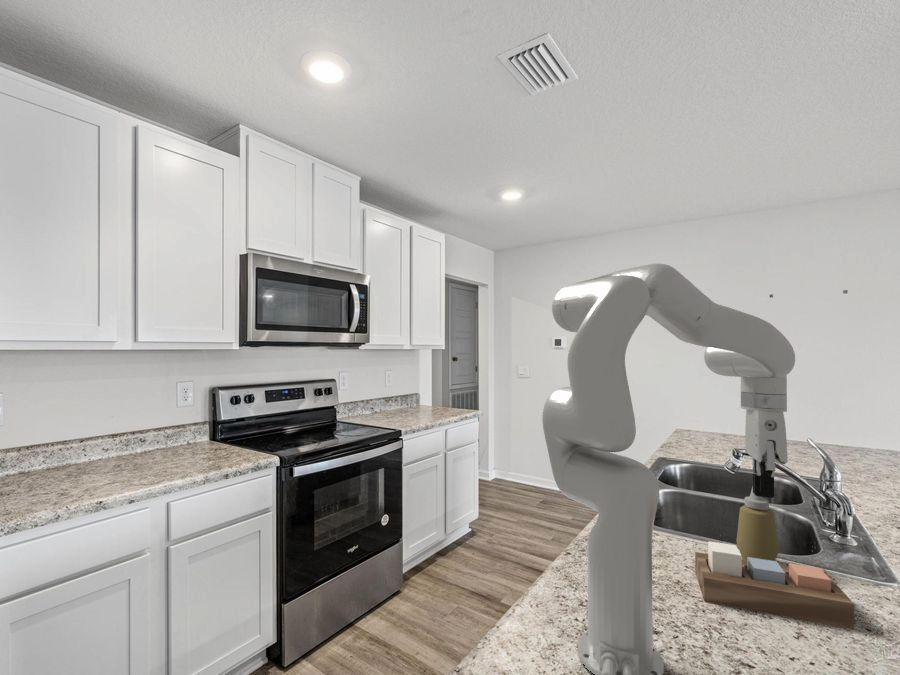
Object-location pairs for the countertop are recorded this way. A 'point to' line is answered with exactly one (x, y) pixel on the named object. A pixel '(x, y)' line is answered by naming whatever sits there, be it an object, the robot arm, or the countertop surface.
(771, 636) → the countertop surface
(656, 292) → the robot arm
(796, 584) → the peach cube
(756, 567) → the key slate
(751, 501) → the squeeze bottle
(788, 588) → the wooden compartment tray
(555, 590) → the countertop surface
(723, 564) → the key cream
